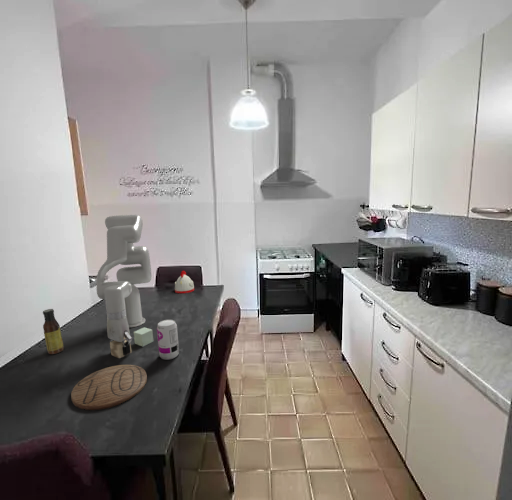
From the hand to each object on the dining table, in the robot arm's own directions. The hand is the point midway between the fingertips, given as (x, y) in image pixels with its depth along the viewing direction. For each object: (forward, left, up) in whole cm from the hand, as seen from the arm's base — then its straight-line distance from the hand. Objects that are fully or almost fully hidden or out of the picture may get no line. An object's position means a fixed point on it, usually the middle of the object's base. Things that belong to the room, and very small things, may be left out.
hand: (121, 351), depth 137 cm
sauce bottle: (-29, -14, -1) cm, 32 cm away
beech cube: (0, 0, -1) cm, 1 cm away
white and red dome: (-44, +81, -1) cm, 92 cm away
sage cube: (0, +12, -1) cm, 12 cm away
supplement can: (+20, +10, -1) cm, 22 cm away
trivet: (+19, -17, -1) cm, 25 cm away
